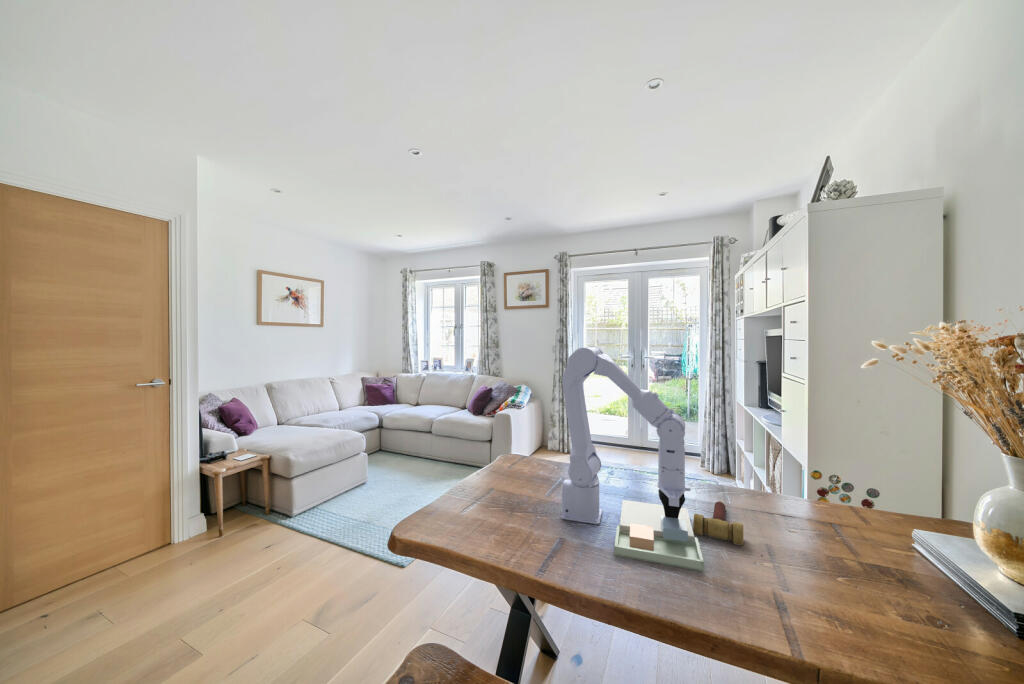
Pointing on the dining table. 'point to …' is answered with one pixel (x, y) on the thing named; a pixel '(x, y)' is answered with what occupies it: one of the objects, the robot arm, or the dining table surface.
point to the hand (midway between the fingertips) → (671, 523)
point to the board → (649, 517)
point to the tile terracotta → (641, 537)
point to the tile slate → (674, 529)
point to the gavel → (718, 526)
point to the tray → (662, 551)
